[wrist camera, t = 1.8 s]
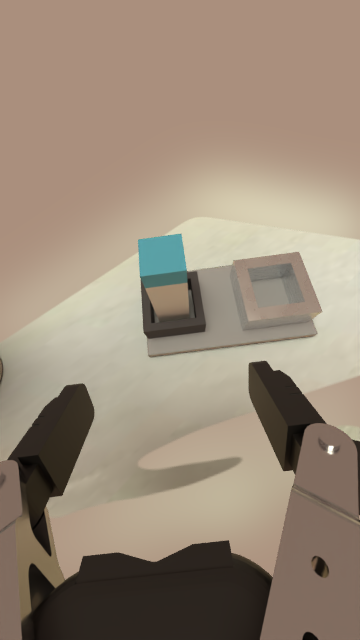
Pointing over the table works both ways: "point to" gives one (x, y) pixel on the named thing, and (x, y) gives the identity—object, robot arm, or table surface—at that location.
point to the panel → (228, 317)
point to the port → (295, 285)
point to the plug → (165, 276)
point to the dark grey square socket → (174, 326)
